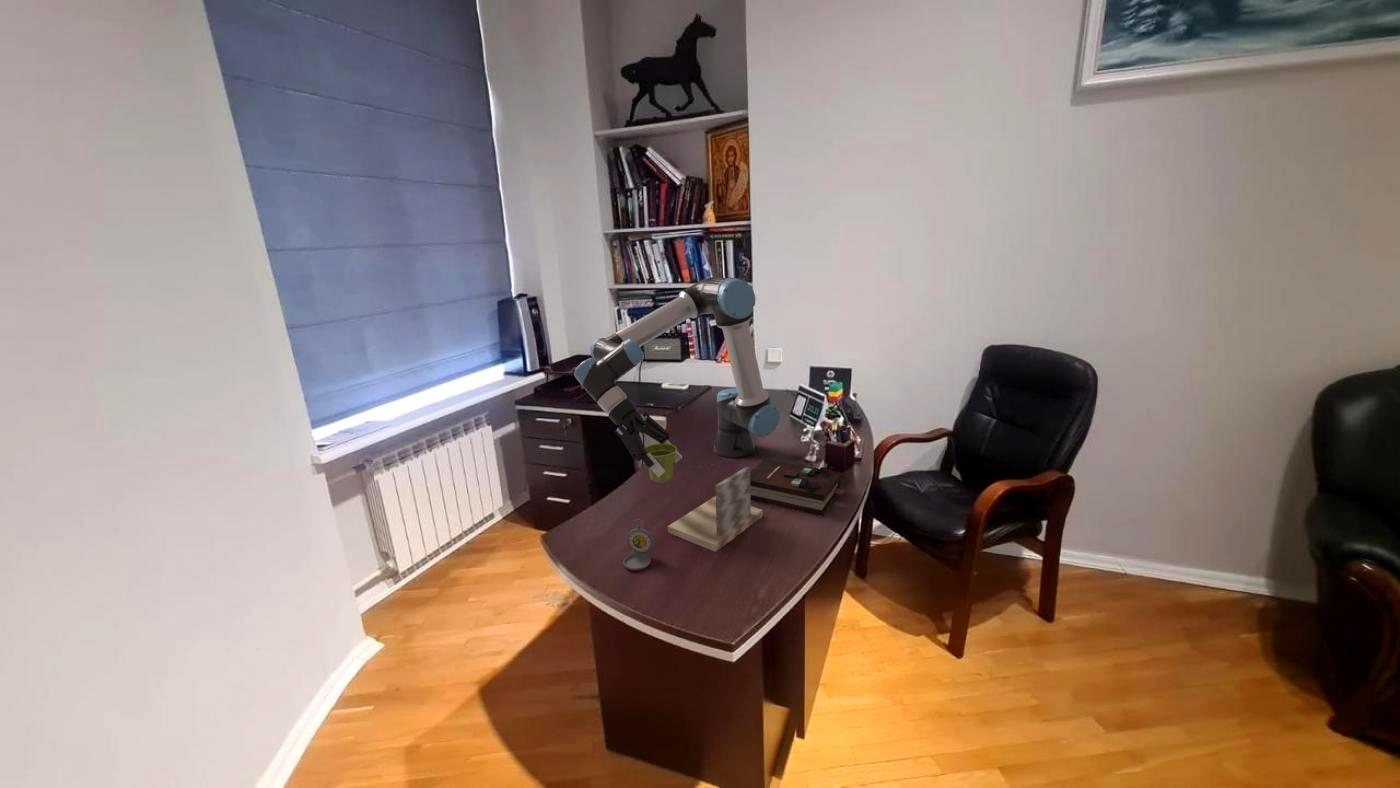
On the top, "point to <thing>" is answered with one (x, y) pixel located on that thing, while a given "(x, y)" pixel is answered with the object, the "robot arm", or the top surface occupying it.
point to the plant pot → (662, 460)
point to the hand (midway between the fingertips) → (670, 467)
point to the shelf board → (720, 514)
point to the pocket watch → (638, 548)
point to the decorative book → (795, 486)
